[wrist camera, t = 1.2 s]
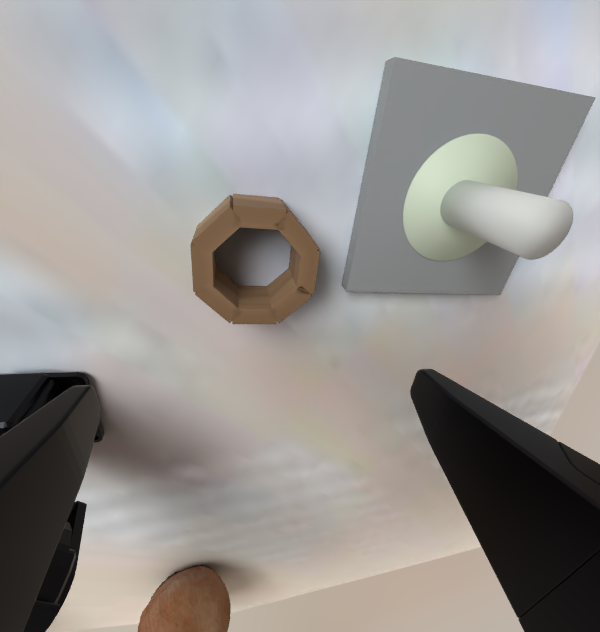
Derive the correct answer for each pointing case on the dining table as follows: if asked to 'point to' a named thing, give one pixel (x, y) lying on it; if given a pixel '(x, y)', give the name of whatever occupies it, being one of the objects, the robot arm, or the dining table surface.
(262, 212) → the ring
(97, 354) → the dining table surface
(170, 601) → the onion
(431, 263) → the post board
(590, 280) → the dining table surface
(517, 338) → the dining table surface
